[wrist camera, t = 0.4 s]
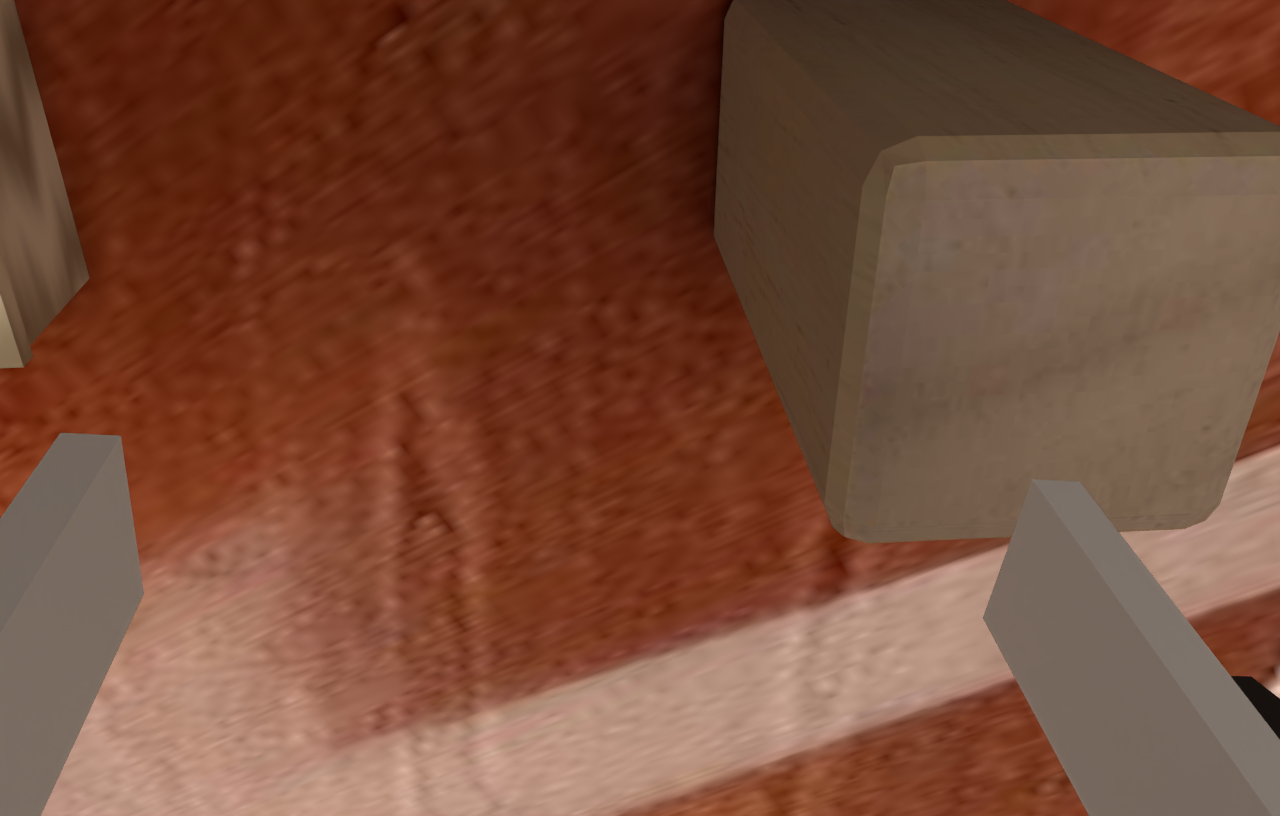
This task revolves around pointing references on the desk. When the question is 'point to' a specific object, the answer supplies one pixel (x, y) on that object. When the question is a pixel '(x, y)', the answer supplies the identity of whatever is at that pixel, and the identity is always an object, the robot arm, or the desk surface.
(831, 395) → the block
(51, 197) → the oak box
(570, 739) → the desk surface
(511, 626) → the desk surface
